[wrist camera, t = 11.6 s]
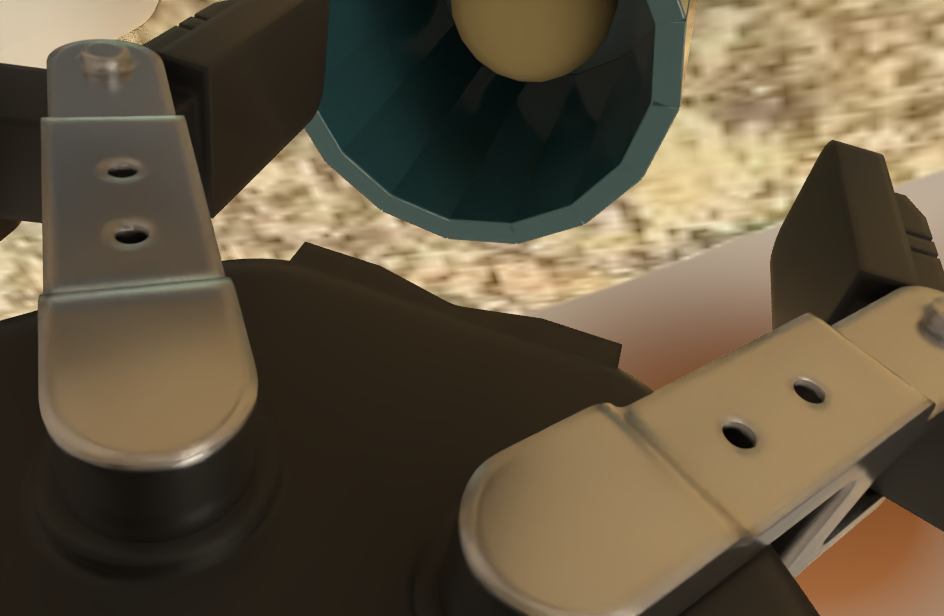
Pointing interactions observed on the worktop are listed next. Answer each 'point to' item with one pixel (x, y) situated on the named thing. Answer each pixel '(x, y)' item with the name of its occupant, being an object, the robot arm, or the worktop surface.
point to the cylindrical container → (63, 25)
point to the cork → (533, 34)
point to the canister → (494, 119)
